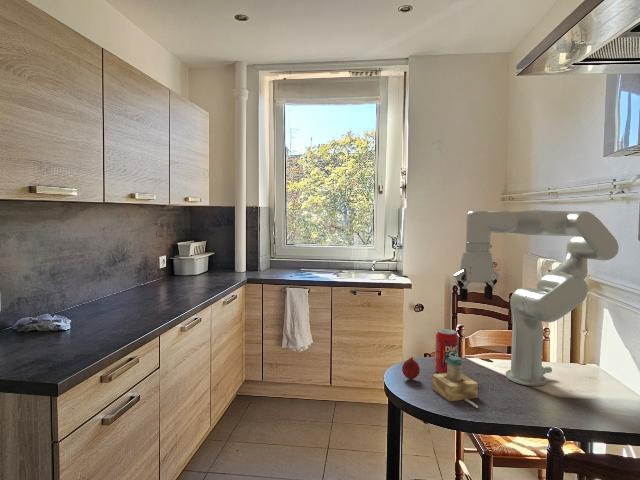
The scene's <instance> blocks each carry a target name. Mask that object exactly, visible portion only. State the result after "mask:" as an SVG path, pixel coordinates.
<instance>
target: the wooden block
mask: <svg viewBox="0 0 640 480" xmlns="http://www.w3.org/2000/svg"><path fill="white" fill-rule="evenodd" d="M430 387H431V389H432V390H433V391H435V392H436V393H438V394H439V395H440V396H441V397H443V398H444V399H446V400H447V401H448V402H455V401H463V400H464V401H465V399H466V398H467V399H468V400H470V399H471V400H472V399H476V398H478V397H479V396H478V394H479V382H477V381H475V380H473V379H471V378H470V377H468V376H466V375H464V374H463V373H461V382H454V383H452V382H450V381H449V380H447V373H442V374H440V373H434V374H431V386H430Z"/></svg>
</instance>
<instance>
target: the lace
mask: <svg viewBox="0 0 640 480" xmlns="http://www.w3.org/2000/svg"><path fill="white" fill-rule="evenodd" d="M464 402H467V403H468V404H469V405H471V406H472V407H475V408H476V409H478V408H479V405H477V404H476V403H474V402H473V401H472V400H470V399H467V398H466V399H464Z"/></svg>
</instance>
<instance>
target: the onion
mask: <svg viewBox="0 0 640 480" xmlns="http://www.w3.org/2000/svg"><path fill="white" fill-rule="evenodd" d="M420 371H421V369H420V364H419V363H418V362H417V361H416V360H415V359H414V357H413V356H409V358H408V359H407V360H405V361H403V365H402V371H401V372H402V374H403V375H404V376H405V378H407V379H408V380H409V381H413V380H414V379H415V378H417V377H418V376H419V374H420Z"/></svg>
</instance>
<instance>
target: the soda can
mask: <svg viewBox="0 0 640 480" xmlns="http://www.w3.org/2000/svg"><path fill="white" fill-rule="evenodd" d="M459 339H460V338H459V335H458V331H456V330H454V329H449V328H439V329H438V330H437V332H436V334H435V342H434V343H435V346H434V347H435V349H434V370H435V371H436V372H438V374H442V373H447V362H448V357H454V356H456V357H458V358H459V343H460V341H459Z"/></svg>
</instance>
